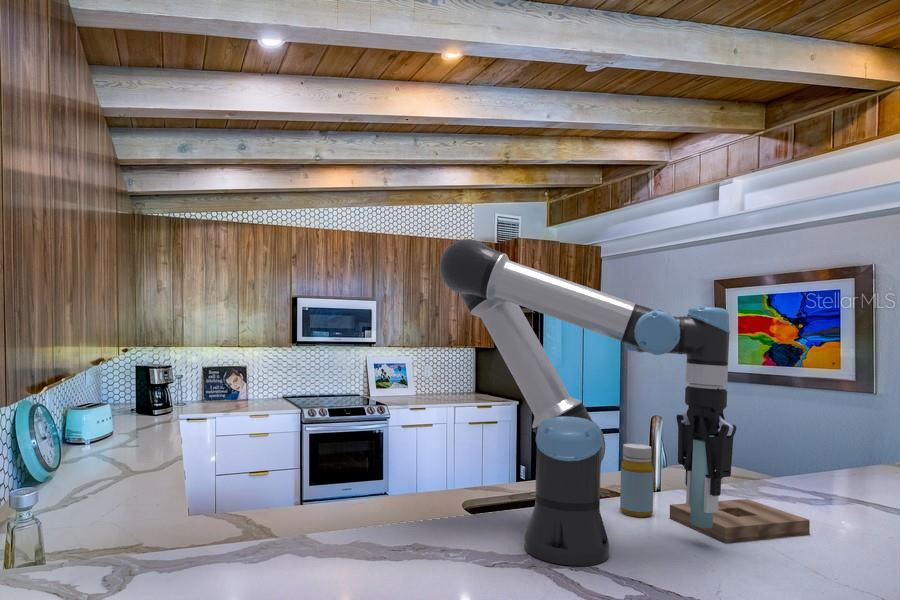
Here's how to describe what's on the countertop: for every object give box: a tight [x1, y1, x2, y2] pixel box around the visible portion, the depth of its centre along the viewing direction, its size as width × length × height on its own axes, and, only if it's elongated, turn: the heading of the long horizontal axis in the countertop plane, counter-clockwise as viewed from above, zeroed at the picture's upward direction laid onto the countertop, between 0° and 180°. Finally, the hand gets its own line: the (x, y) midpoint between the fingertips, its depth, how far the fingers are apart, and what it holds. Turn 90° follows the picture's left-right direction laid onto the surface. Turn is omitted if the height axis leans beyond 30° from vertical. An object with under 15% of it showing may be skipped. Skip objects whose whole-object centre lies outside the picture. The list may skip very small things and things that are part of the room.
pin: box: [690, 439, 713, 528], centre depth 114 cm, size 4×4×16 cm
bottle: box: [619, 443, 654, 518], centre depth 133 cm, size 7×7×15 cm
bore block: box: [669, 498, 811, 544], centre depth 126 cm, size 22×16×3 cm
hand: (701, 507), depth 113 cm, fingers closed on pin, 4 cm apart
